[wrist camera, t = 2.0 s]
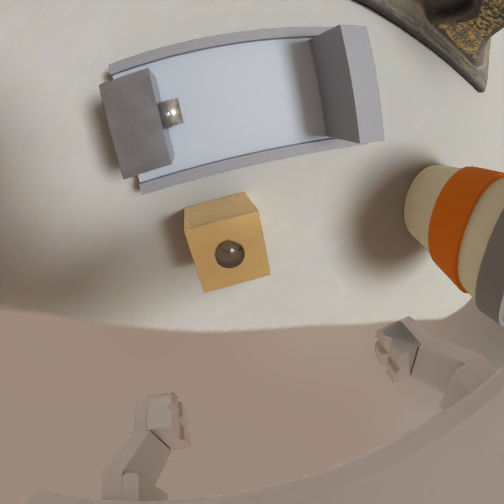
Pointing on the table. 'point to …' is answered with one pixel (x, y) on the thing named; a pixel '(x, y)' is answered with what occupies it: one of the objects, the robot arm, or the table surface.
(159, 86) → the press bed
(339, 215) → the table surface
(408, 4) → the embossing press
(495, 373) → the robot arm
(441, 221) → the reusable coffee cup
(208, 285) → the housing
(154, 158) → the block
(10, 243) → the table surface
